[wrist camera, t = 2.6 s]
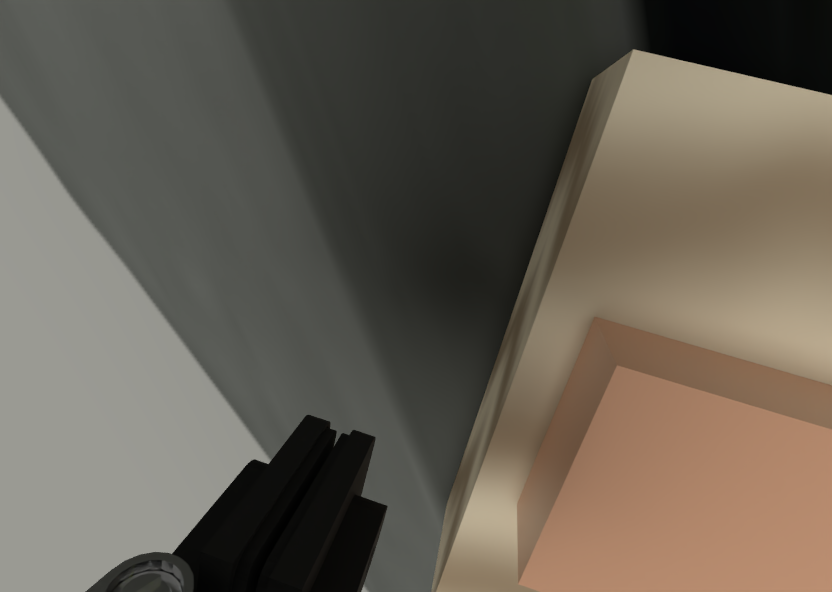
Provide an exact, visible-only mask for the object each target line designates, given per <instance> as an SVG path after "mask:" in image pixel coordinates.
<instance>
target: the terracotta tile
mask: <svg viewBox="0 0 832 592" xmlns="http://www.w3.org/2000/svg"><path fill="white" fill-rule="evenodd" d="M517 542H518V584H519V585H522V586H525V587H528V588H531V589H533V590H536V591H539V592H832V385H829V384H825V383H822V382H818V381H815V380H812V379H808V378H805V377H801V376H798V375H794V374H791V373H788V372H784V371H781V370H777V369H774V368H770V367H767V366H763V365H760V364H757V363H753V362H750V361H746V360H743V359H739V358H736V357H732V356H729V355H726V354H722V353H719V352H715V351H712V350H708V349H705V348H701V347H698V346H695V345H691V344H688V343H684V342H681V341H677V340H674V339H670V338H667V337H664V336H660V335H657V334H653V333H650V332H646V331H643V330H639V329H636V328H633V327H629V326H626V325H622V324H619V323H615V322H612V321H608V320H605V319H602V318H598V317H595V316H594V319H593V321H592V324H591V326H590V329H589V331H588V333H587V336H586V338H585V341H584V343H583V345H582V348H581V350H580V353H579V355H578V358H577V360H576V362H575V365H574V367H573V370H572V372H571V374H570V377H569V379H568V382H567V384H566V387H565V389H564V391H563V394H562V396H561V399H560V401H559V403H558V406H557V408H556V411H555V413H554V416H553V418H552V420H551V423H550V425H549V428H548V430H547V432H546V435H545V437H544V440H543V442H542V445H541V447H540V449H539V452H538V454H537V457H536V459H535V461H534V464H533V466H532V469H531V471H530V474H529V476H528V478H527V481H526V483H525V486H524V488H523V490H522V493H521V495H520V498H519V500H518V503H517Z"/></svg>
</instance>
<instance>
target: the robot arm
mask: <svg viewBox="0 0 832 592" xmlns="http://www.w3.org/2000/svg"><path fill="white" fill-rule="evenodd" d="M335 438H336V431H335V430H332V429H330V422H329V421H326V420H323V419H320V418H317V417H314V416H311V415H307V416H306V417H305V418H304V419H303V420H302V422H301V423H300V424H299V425H298V427H297V428H296V429H295V431H294V432H293V433H292V435H291V436H290V437H289V438H288V440H287V441H286V442H285V444H284V445H283V446H282V448H281V449H280V450H279V451H278V453H277V454H276V455H275V457H274V458H273V459H272V460H271V462H270V463H269V464H266V463H263V462H260V461H257V460H252V461H251V462H249V463H248V465H246V466H245V468H244V469H243V470H242V471H241V473H240V474H239V475H238V476H237V477H236V478H235V480H234V481H233V482H232V483H231V484H230V486H229V487H228V488H227V489H226V490H225V491H224V493H223V494H222V495H221V496H220V497H219V499H218V500H217V501H216V502H215V503H214V505H213V506H212V507H211V508H210V509H209V511H208V512H207V513H206V514H205V515H204V516H203V518H202V519H201V520H200V521H199V522H198V524H197V525H196V526H195V527H194V528H193V530H192V531H191V532H190V533H189V535H188V536H187V537H186V538H185V539H184V540H183V542H182V543H181V544H180V545H179V546H178V547H177V549H176V550H175V551H174V552H173V553H172V554H170V553H161V552H153V553H147V554H141V555H138V556H136V557H133V558H131V559H128V560H126V561H124V562H122V563H121V564H119V565H118V566H117V567H115V568H114V569H112V570H111V571H110V572H108V573H107V574H106V575H105V576H104V577H103V578H101V579H100V580H99V581H98V582H97V583H95V584H94V585H93V586H92V587H91V588H89V589H88V590H87V591H86V592H361V590H362V588H363V585H364V582H365V579H366V576H367V573H368V570H369V567H370V564H371V561H372V558H373V554H374V551H375V548H376V545H377V542H378V538H379V535H380V531H381V528H382V524H383V521H384V517H385V514H386V510H387V506H386V505H383V504H380V503H377V502H374V501H372V500H369V499H366V498H363V497H361V494H362V490H363V486H364V482H365V478H366V474H367V471H368V467H369V463H370V459H371V455H372V451H373V447H374V443H375V437H374V436H371V435H368V434H365V433H362V432H359V431H356V430H353V431H352V432H351V434H350V435H347V434H344V433H342V434H341V436H340V437H339V439H338V441H337V442H336V444H335V446H334V443H335Z"/></svg>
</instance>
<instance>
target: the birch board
mask: <svg viewBox="0 0 832 592" xmlns="http://www.w3.org/2000/svg"><path fill="white" fill-rule="evenodd" d="M594 316H595V317H598V318H602V319H605V320H608V321H612V322H615V323H619V324H622V325H626V326H629V327H633V328H636V329H639V330H643V331H646V332H650V333H653V334H657V335H660V336H664V337H667V338H670V339H674V340H677V341H681V342H684V343H688V344H691V345H695V346H698V347H701V348H705V349H708V350H712V351H715V352H719V353H722V354H726V355H729V356H732V357H736V358H739V359H743V360H746V361H750V362H753V363H757V364H760V365H763V366H767V367H770V368H774V369H777V370H781V371H784V372H788V373H791V374H794V375H798V376H801V377H805V378H808V379H812V380H815V381H818V382H822V383H825V384H829V385H832V95H829V94H824V93H820V92H816V91H811V90H807V89H803V88H798V87H794V86H790V85H785V84H781V83H777V82H772V81H768V80H764V79H759V78H755V77H751V76H746V75H742V74H738V73H733V72H729V71H725V70H720V69H716V68H712V67H707V66H703V65H699V64H695V63H690V62H686V61H682V60H677V59H673V58H669V57H664V56H660V55H656V54H651V53H647V52H643V51H638V50H634V49H633V50H632V51H631V52H629V53H628V54H626V55H625V56H624V57H622V58H621V59H619V60H618V61H617V62H615V63H614V64H613V65H611V66H610V67H608V68H607V69H606V70H604V71H603V72H602V73H600V74H599V75H597V76H596V77H595V78H593V79H592V81H591V84H590V87H589V90H588V93H587V96H586V99H585V102H584V105H583V108H582V110H581V113H580V116H579V119H578V122H577V125H576V128H575V131H574V134H573V137H572V140H571V143H570V146H569V148H568V151H567V154H566V157H565V160H564V163H563V166H562V169H561V172H560V175H559V178H558V181H557V184H556V186H555V189H554V192H553V195H552V198H551V201H550V204H549V207H548V210H547V213H546V216H545V219H544V222H543V224H542V227H541V230H540V233H539V236H538V239H537V242H536V245H535V248H534V251H533V254H532V257H531V259H530V262H529V265H528V268H527V271H526V274H525V277H524V280H523V283H522V286H521V289H520V292H519V295H518V297H517V300H516V303H515V306H514V309H513V312H512V315H511V318H510V321H509V324H508V327H507V330H506V333H505V335H504V338H503V341H502V344H501V347H500V350H499V353H498V356H497V359H496V362H495V365H494V368H493V370H492V373H491V376H490V379H489V382H488V385H487V388H486V391H485V394H484V397H483V400H482V403H481V406H480V408H479V411H478V414H477V417H476V420H475V423H474V426H473V429H472V432H471V435H470V438H469V441H468V444H467V446H466V449H465V452H464V455H463V458H462V461H461V464H460V467H459V470H458V473H457V476H456V479H455V482H454V484H453V487H452V490H451V493H450V496H449V499H448V502H447V506H446V512H445V518H444V523H443V529H442V534H441V540H440V546H439V551H438V557H437V563H436V568H435V574H434V580H433V585H432V591H431V592H539V591H536V590H533V589H531V588H528V587H525V586H522V585H519V584H518V542H517V503H518V500H519V498H520V495H521V493H522V490H523V488H524V486H525V483H526V481H527V478H528V476H529V474H530V471H531V469H532V466H533V464H534V461H535V459H536V457H537V454H538V452H539V449H540V447H541V445H542V442H543V440H544V437H545V435H546V432H547V430H548V428H549V425H550V423H551V420H552V418H553V416H554V413H555V411H556V408H557V406H558V403H559V401H560V399H561V396H562V394H563V391H564V389H565V387H566V384H567V382H568V379H569V377H570V374H571V372H572V370H573V367H574V365H575V362H576V360H577V358H578V355H579V353H580V350H581V348H582V345H583V343H584V341H585V338H586V336H587V333H588V331H589V329H590V326H591V324H592V321H593V319H594Z"/></svg>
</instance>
